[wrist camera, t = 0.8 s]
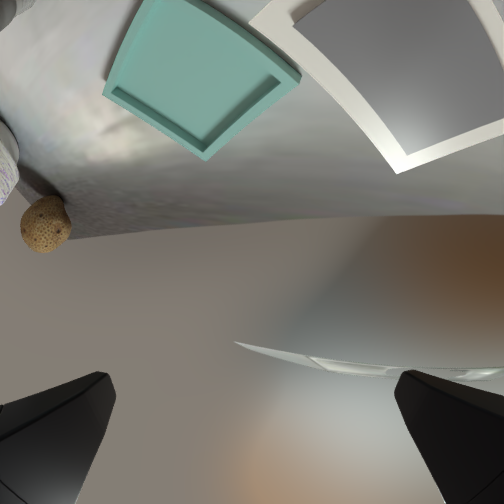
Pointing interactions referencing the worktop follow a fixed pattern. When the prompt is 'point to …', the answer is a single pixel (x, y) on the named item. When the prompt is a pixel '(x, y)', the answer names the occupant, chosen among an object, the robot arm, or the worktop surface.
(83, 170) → the worktop surface
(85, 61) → the worktop surface
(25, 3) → the light bulb
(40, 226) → the natural sponge
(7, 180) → the paper bowls
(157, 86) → the tray
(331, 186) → the worktop surface
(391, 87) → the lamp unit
